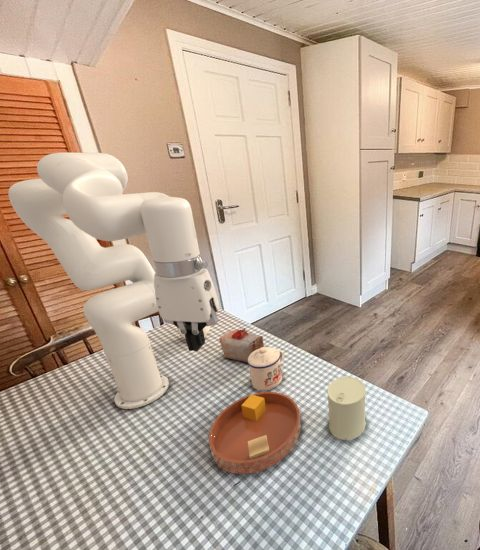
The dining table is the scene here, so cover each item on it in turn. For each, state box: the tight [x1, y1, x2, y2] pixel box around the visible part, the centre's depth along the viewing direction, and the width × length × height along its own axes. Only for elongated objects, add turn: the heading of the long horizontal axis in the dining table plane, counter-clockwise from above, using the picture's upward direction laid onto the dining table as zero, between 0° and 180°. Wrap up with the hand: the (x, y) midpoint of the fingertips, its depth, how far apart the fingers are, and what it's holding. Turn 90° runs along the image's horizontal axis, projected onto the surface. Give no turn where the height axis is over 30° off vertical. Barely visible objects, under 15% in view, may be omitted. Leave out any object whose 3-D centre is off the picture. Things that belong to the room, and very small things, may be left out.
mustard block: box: [241, 393, 266, 421], centre depth 78 cm, size 4×4×4 cm
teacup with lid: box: [246, 346, 284, 391], centre depth 90 cm, size 12×9×12 cm
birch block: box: [248, 435, 270, 460], centre depth 66 cm, size 4×4×4 cm
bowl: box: [208, 391, 302, 475], centre depth 72 cm, size 20×20×4 cm
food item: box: [218, 327, 265, 363], centre depth 100 cm, size 14×8×10 cm, turn 73°
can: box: [326, 376, 367, 441], centre depth 74 cm, size 9×9×12 cm
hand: (197, 347), depth 63 cm, fingers closed
